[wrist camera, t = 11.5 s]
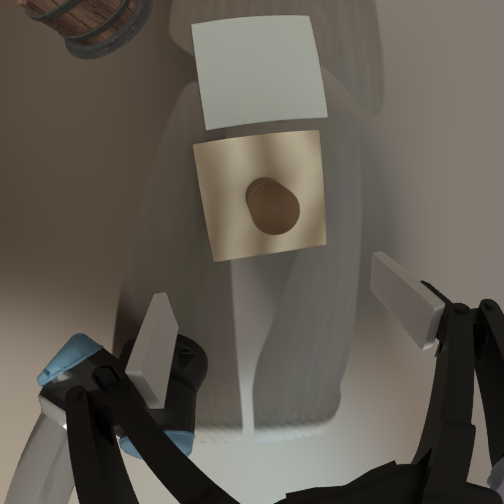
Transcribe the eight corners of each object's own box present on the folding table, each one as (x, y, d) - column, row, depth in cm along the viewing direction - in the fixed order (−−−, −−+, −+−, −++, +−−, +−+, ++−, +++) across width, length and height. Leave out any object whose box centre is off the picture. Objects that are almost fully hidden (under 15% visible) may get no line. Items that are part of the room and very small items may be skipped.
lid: (214, 258, 34) (211, 292, 26) (193, 144, 28) (183, 144, 21) (323, 241, 34) (348, 269, 27) (315, 130, 29) (343, 127, 21)
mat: (206, 130, 36) (206, 130, 36) (191, 26, 29) (191, 24, 29) (326, 117, 36) (327, 117, 36) (307, 17, 29) (308, 16, 29)
